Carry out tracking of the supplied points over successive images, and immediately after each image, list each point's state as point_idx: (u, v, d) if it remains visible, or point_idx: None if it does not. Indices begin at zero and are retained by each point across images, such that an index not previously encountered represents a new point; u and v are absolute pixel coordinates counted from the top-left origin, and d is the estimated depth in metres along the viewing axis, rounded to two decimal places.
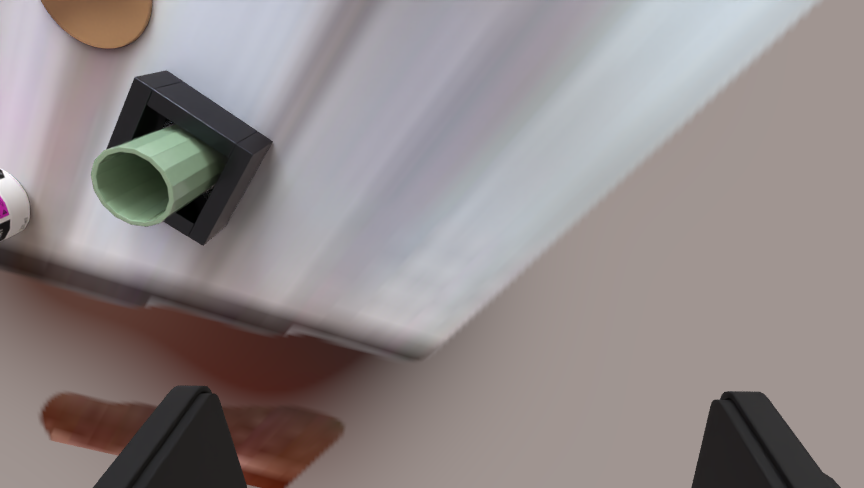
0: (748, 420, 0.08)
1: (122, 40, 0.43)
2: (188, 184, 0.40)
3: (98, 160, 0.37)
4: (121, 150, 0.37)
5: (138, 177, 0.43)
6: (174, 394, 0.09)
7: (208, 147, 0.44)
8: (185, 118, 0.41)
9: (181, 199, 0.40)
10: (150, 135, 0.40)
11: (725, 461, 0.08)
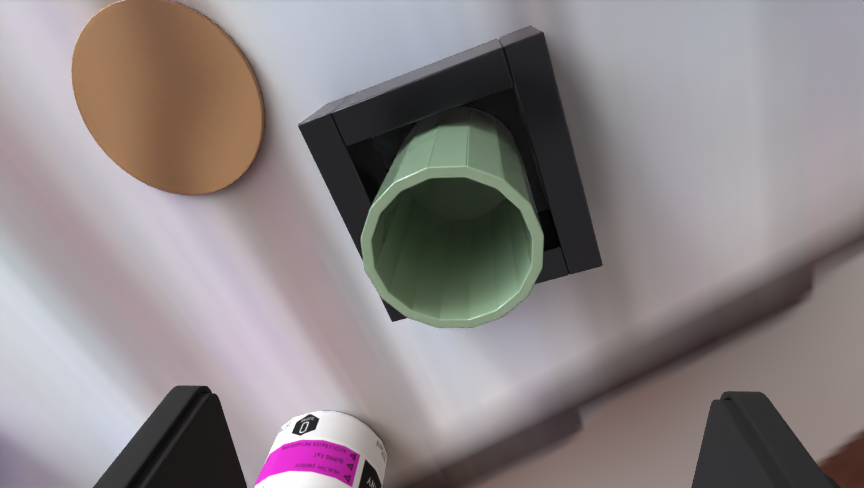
0: (748, 420, 0.08)
1: (254, 128, 0.26)
2: (512, 170, 0.18)
3: (368, 262, 0.18)
4: (379, 208, 0.17)
5: (434, 257, 0.23)
6: (174, 394, 0.09)
7: (469, 119, 0.22)
8: (404, 100, 0.21)
9: (530, 198, 0.18)
10: (390, 169, 0.20)
11: (725, 461, 0.08)
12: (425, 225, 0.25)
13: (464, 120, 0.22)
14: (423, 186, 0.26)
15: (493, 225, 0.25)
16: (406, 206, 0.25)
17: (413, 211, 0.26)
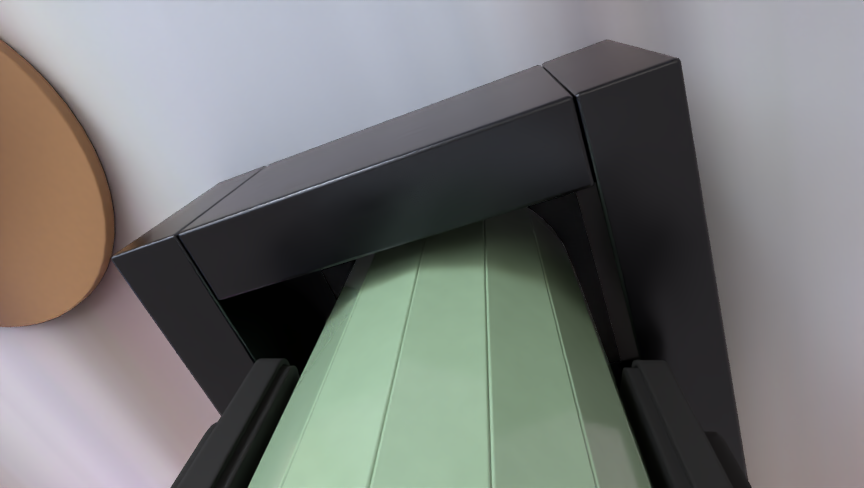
0: (647, 384, 0.09)
1: (93, 224, 0.14)
2: (613, 442, 0.07)
3: None
4: None
5: None
6: (259, 365, 0.10)
7: (484, 237, 0.10)
8: (337, 214, 0.09)
9: None
10: (301, 384, 0.08)
11: None
12: None
13: (475, 241, 0.10)
14: None
15: None
16: None
17: None
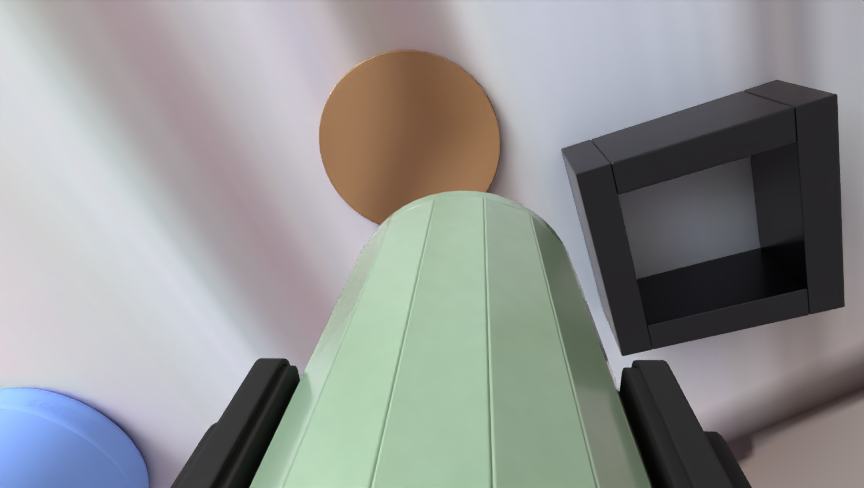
0: (647, 384, 0.09)
1: (489, 170, 0.27)
2: (614, 444, 0.07)
3: None
4: None
5: None
6: (259, 365, 0.10)
7: (485, 238, 0.10)
8: (686, 154, 0.22)
9: None
10: (301, 386, 0.08)
11: None
12: None
13: (475, 242, 0.10)
14: None
15: None
16: None
17: None
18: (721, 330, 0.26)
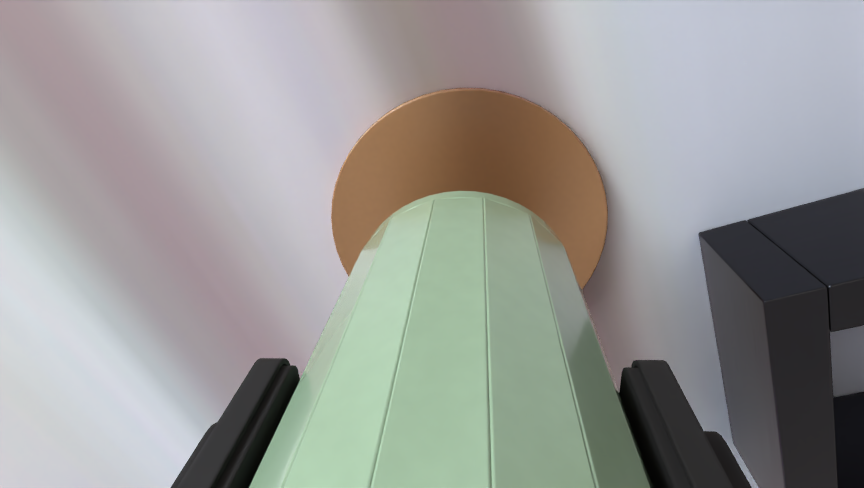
0: (647, 384, 0.09)
1: (587, 264, 0.18)
2: (613, 444, 0.07)
3: None
4: None
5: None
6: (259, 365, 0.10)
7: (484, 239, 0.10)
8: None
9: None
10: (301, 386, 0.08)
11: (630, 422, 0.09)
12: None
13: (475, 243, 0.10)
14: None
15: None
16: None
17: None
18: None
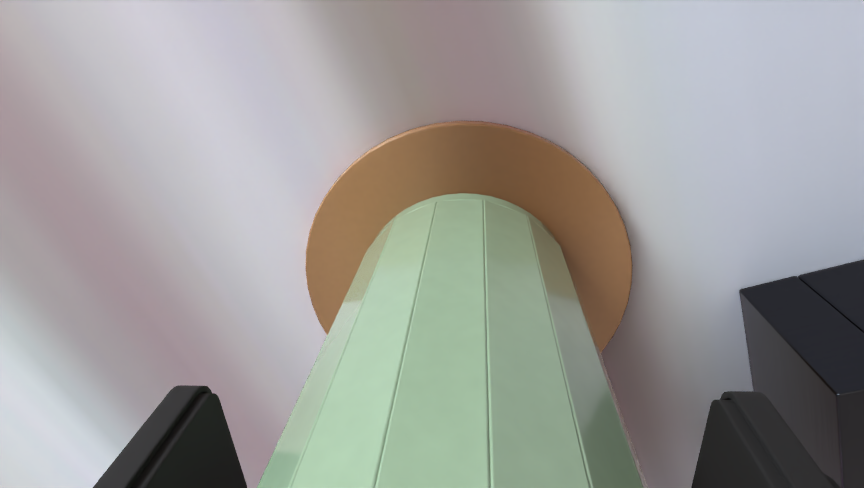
0: (748, 420, 0.08)
1: (607, 324, 0.15)
2: (601, 424, 0.07)
3: None
4: None
5: None
6: (174, 394, 0.09)
7: (484, 238, 0.11)
8: None
9: None
10: (313, 374, 0.09)
11: (725, 461, 0.08)
12: None
13: (475, 242, 0.11)
14: None
15: None
16: None
17: None
18: None
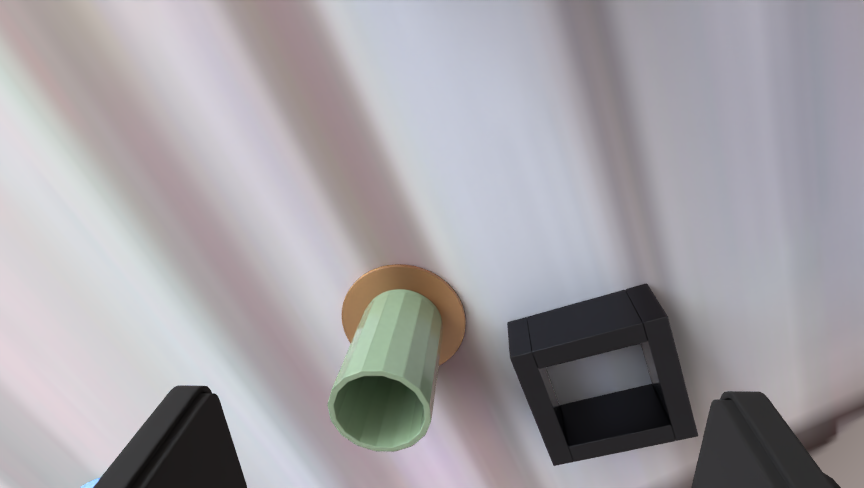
0: (748, 420, 0.08)
1: (458, 336, 0.40)
2: (416, 359, 0.32)
3: (333, 416, 0.31)
4: (337, 390, 0.30)
5: (381, 395, 0.36)
6: (174, 394, 0.09)
7: (400, 310, 0.36)
8: (579, 347, 0.34)
9: (424, 379, 0.31)
10: (348, 351, 0.33)
11: (725, 461, 0.08)
12: None
13: (397, 311, 0.35)
14: None
15: None
16: None
17: None
18: (618, 450, 0.37)
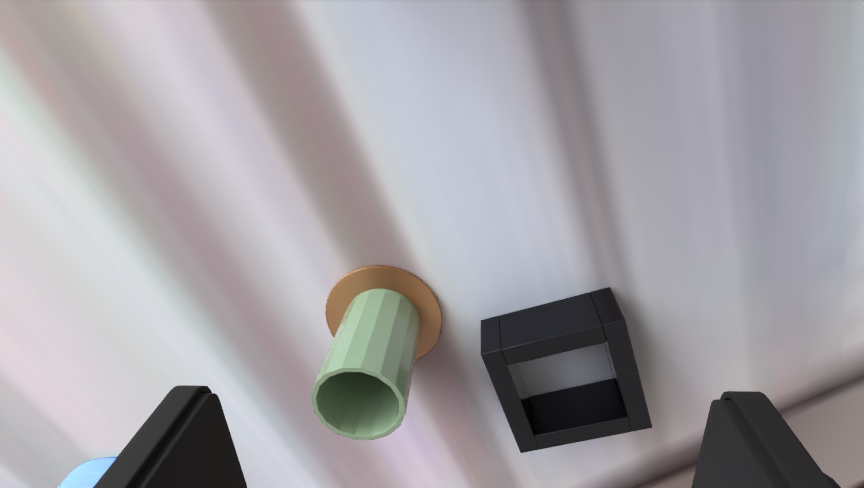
0: (748, 420, 0.08)
1: (435, 332, 0.42)
2: (393, 356, 0.34)
3: (315, 407, 0.34)
4: (319, 384, 0.33)
5: (361, 387, 0.39)
6: (174, 394, 0.09)
7: (380, 309, 0.38)
8: (544, 346, 0.37)
9: (400, 375, 0.34)
10: (331, 347, 0.36)
11: (725, 461, 0.08)
12: None
13: (377, 310, 0.38)
14: None
15: None
16: None
17: None
18: (580, 439, 0.41)
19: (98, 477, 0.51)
